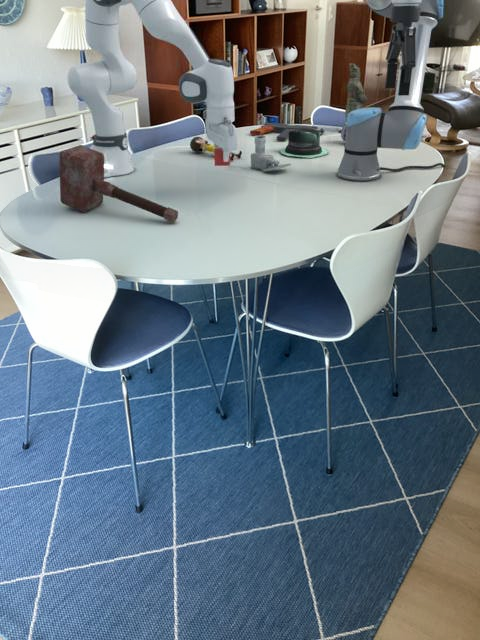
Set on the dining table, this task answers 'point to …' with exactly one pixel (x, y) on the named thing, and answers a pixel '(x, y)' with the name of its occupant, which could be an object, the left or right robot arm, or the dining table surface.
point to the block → (220, 157)
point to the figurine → (207, 147)
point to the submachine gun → (280, 129)
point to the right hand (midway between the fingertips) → (396, 91)
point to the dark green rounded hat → (304, 143)
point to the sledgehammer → (96, 184)
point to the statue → (354, 91)
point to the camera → (264, 157)
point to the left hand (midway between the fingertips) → (222, 158)
